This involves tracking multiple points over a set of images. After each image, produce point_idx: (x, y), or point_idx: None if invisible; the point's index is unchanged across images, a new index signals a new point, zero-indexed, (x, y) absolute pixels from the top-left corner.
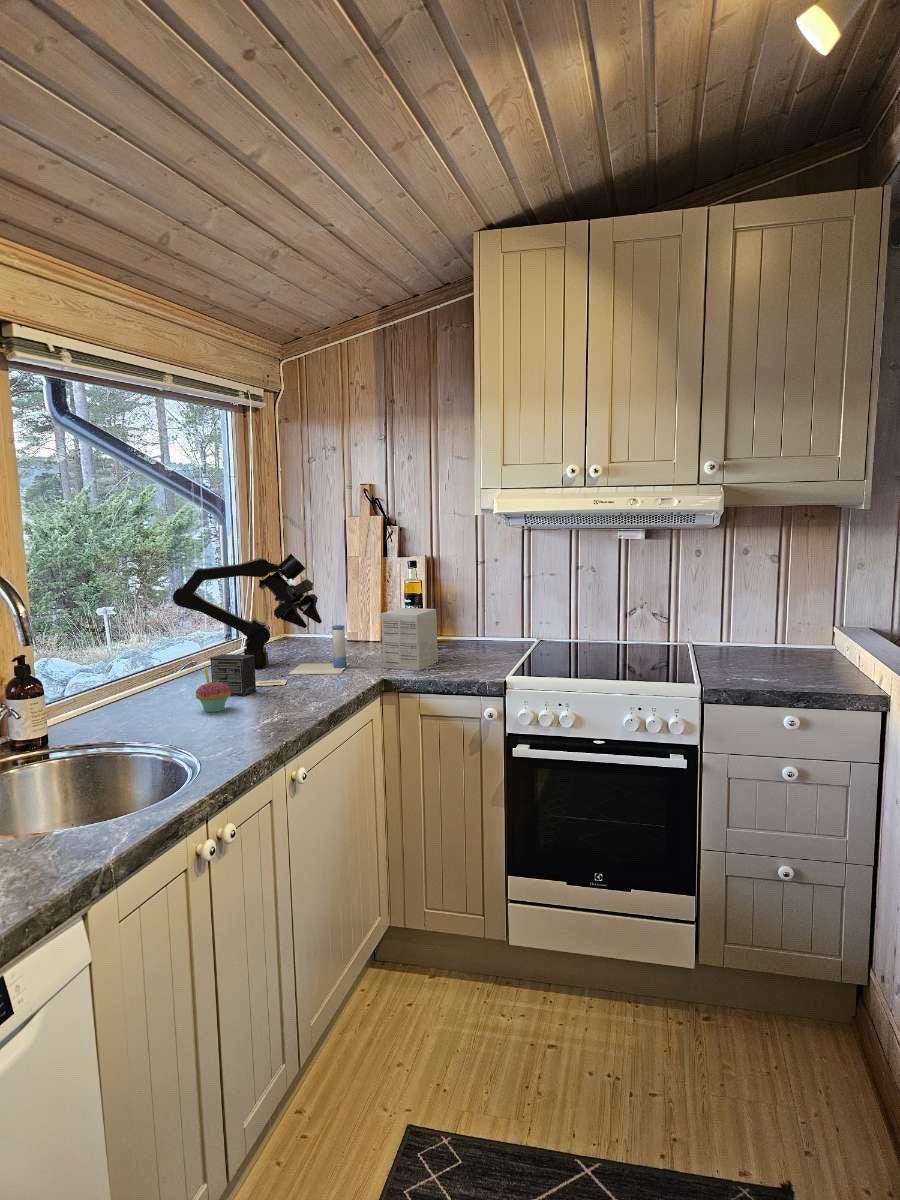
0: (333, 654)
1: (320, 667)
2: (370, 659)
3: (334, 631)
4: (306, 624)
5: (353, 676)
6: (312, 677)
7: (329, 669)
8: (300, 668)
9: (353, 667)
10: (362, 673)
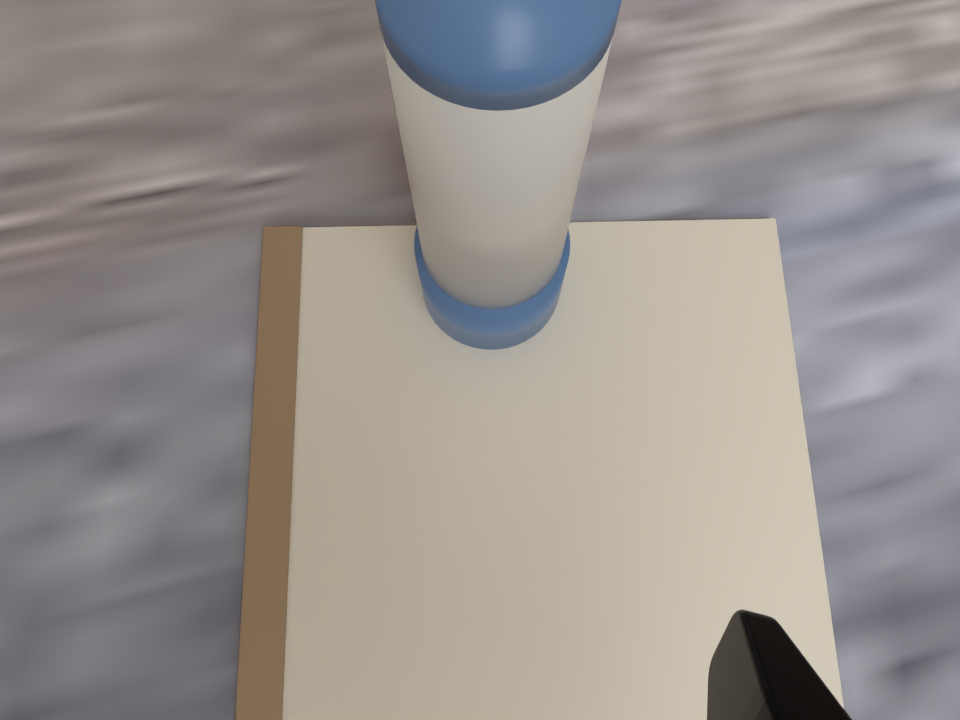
0: (524, 287)
1: (516, 484)
2: (83, 93)
3: (601, 70)
4: (756, 634)
5: (841, 98)
6: (929, 461)
7: (618, 361)
8: (568, 716)
9: None
10: (716, 50)
